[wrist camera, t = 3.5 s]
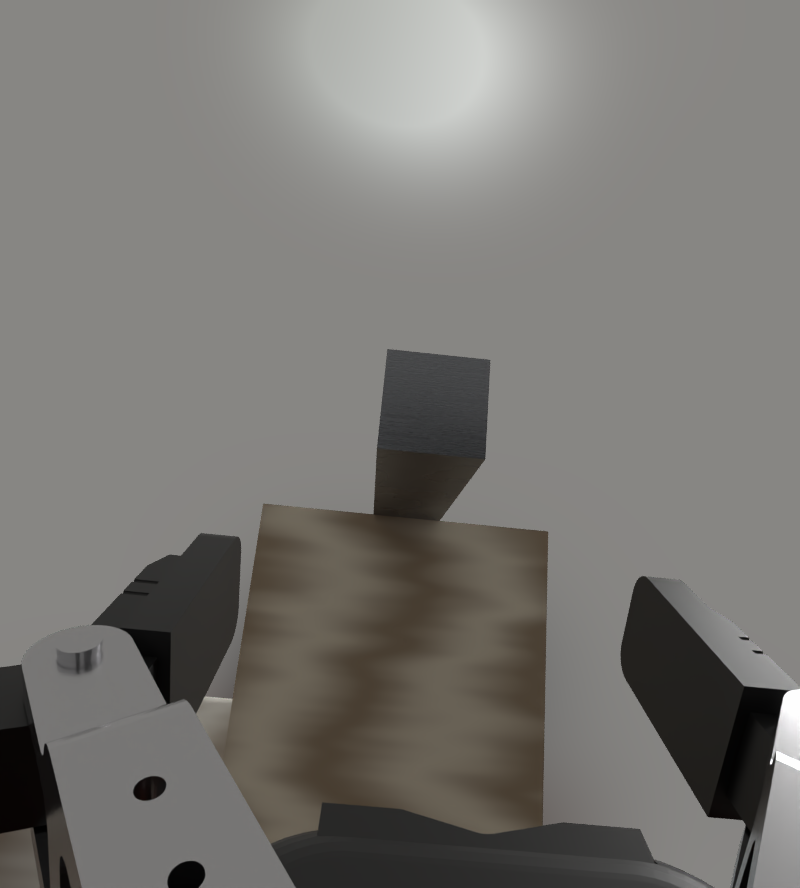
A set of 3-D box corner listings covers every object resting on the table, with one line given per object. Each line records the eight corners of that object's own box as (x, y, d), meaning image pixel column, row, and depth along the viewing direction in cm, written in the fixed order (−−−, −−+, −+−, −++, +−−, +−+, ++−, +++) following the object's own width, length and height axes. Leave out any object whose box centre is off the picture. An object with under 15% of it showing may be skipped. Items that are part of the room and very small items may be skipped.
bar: (410, 559, 45) (414, 520, 46) (485, 459, 16) (490, 359, 17) (371, 555, 45) (375, 516, 46) (377, 448, 16) (387, 349, 17)
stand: (445, 1083, 37) (473, 566, 46) (527, 1583, 18) (548, 531, 27) (10, 1050, 36) (125, 533, 46) (-386, 1532, 17) (-51, 472, 26)
